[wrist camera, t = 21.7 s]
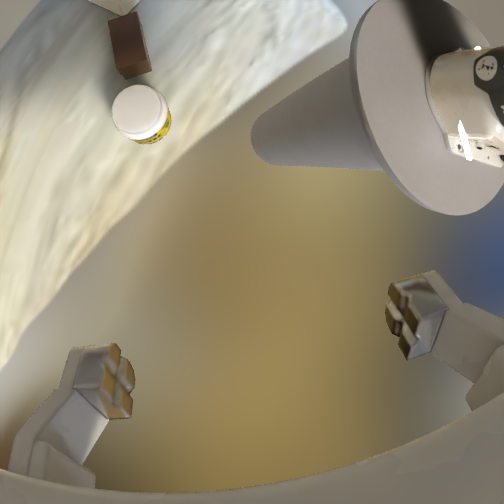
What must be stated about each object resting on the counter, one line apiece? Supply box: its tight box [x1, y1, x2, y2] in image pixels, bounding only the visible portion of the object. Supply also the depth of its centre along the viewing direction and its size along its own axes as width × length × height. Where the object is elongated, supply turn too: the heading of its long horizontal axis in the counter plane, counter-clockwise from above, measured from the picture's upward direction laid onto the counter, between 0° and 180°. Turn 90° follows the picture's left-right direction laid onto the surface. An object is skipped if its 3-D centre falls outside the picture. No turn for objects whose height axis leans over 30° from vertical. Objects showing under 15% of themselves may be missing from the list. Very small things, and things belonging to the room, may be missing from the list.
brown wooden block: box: [108, 12, 152, 79], centre depth 25 cm, size 6×3×4 cm, turn 15°
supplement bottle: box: [112, 85, 171, 144], centre depth 25 cm, size 5×5×8 cm
